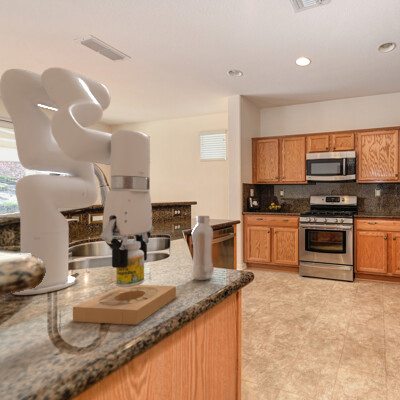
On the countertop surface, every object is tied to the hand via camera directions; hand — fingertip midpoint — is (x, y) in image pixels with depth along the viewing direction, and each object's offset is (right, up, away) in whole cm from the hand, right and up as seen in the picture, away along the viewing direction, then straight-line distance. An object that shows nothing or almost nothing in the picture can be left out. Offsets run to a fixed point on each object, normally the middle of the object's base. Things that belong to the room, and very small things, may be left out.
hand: (130, 262), depth 59 cm
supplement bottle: (0, -5, 0) cm, 5 cm away
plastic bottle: (+8, -11, +21) cm, 25 cm away
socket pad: (0, -11, 0) cm, 11 cm away
